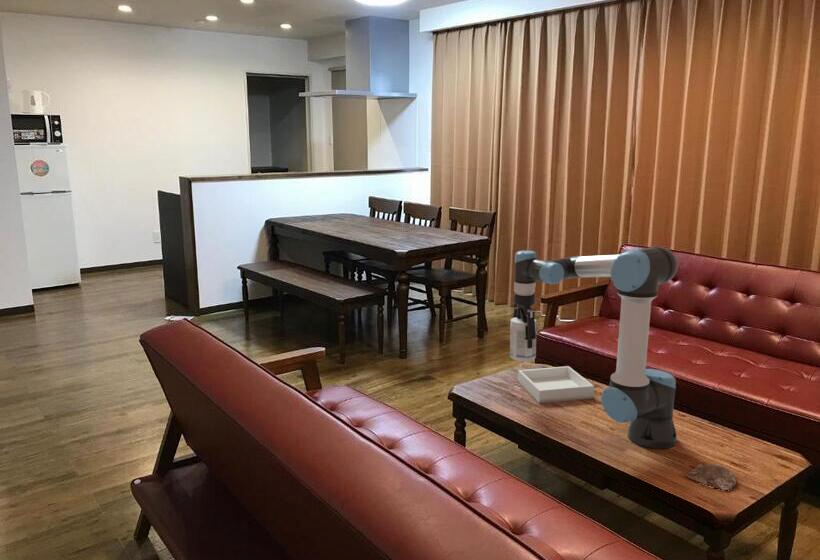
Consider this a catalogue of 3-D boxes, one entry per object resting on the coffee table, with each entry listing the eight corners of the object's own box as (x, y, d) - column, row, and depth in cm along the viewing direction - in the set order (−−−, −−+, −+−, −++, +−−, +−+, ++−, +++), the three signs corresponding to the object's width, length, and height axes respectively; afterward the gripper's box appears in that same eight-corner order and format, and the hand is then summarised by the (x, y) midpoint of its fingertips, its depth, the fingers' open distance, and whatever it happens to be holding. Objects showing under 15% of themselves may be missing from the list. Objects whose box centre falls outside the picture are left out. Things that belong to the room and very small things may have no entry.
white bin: (593, 398, 249) (594, 385, 248) (539, 403, 245) (539, 390, 244) (568, 377, 270) (568, 366, 269) (517, 381, 266) (518, 370, 265)
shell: (700, 465, 200) (701, 454, 199) (743, 481, 191) (744, 469, 190) (682, 478, 192) (683, 467, 191) (727, 495, 183) (728, 484, 182)
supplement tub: (540, 357, 244) (542, 319, 241) (525, 364, 237) (527, 325, 234) (519, 352, 251) (520, 314, 248) (504, 357, 244) (505, 319, 241)
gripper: (547, 299, 229) (544, 360, 234) (522, 285, 250) (520, 341, 255) (527, 301, 227) (525, 362, 232) (503, 287, 248) (502, 343, 253)
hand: (522, 351), depth 244 cm, fingers closed on supplement tub, 10 cm apart
